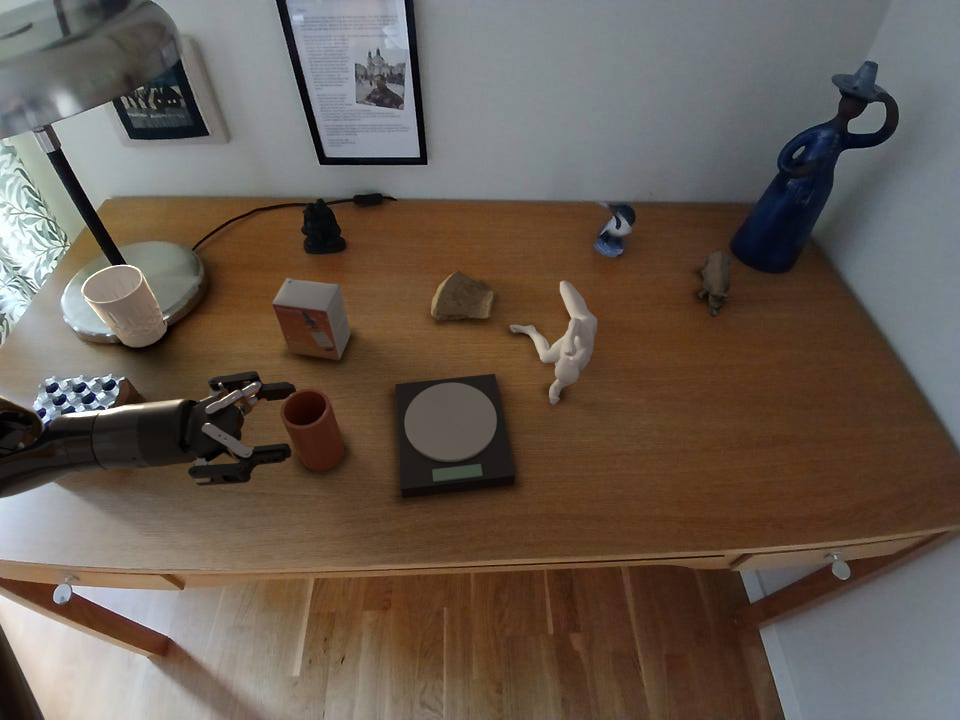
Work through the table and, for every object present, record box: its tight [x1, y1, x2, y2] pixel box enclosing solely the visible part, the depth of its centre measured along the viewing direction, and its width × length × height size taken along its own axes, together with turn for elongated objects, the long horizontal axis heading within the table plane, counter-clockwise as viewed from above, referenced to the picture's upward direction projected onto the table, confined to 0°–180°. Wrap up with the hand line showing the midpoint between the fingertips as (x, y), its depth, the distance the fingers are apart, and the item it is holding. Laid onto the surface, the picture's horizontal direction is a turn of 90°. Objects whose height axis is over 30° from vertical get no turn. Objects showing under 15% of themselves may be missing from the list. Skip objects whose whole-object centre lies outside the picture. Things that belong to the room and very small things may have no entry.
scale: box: [394, 373, 516, 499], centre depth 73 cm, size 16×14×3 cm
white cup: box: [81, 264, 168, 348], centre depth 82 cm, size 8×8×10 cm
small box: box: [271, 277, 352, 361], centre depth 80 cm, size 8×6×10 cm
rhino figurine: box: [698, 250, 731, 318], centre depth 90 cm, size 4×14×6 cm, turn 165°
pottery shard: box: [430, 270, 498, 322], centre depth 89 cm, size 11×4×10 cm
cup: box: [279, 387, 346, 472], centre depth 69 cm, size 6×6×10 cm
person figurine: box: [509, 279, 598, 406], centre depth 80 cm, size 13×13×18 cm
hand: (292, 419), depth 66 cm, fingers open, 8 cm apart
